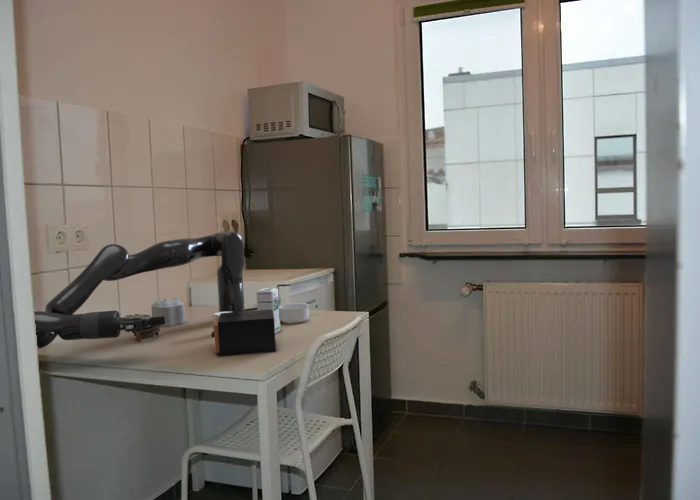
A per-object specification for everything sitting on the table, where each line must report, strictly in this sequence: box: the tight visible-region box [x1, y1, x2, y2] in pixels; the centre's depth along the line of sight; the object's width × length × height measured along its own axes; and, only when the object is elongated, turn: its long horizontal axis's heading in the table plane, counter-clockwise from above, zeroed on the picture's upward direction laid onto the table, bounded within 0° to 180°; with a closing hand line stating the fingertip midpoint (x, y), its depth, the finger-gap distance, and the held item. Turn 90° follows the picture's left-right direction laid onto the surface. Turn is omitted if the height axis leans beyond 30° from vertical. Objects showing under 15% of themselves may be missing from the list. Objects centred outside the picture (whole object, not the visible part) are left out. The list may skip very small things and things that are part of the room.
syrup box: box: [255, 287, 282, 335], centre depth 186 cm, size 6×6×14 cm
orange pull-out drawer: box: [211, 317, 220, 354], centre depth 166 cm, size 16×13×8 cm
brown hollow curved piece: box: [130, 325, 161, 343], centre depth 183 cm, size 12×10×8 cm
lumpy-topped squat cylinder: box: [150, 298, 186, 328], centre depth 208 cm, size 10×13×9 cm
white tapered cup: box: [212, 311, 230, 325], centre depth 186 cm, size 7×7×7 cm
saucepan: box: [279, 299, 317, 325], centre depth 206 cm, size 12×20×6 cm, turn 150°
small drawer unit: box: [218, 309, 277, 357], centre depth 166 cm, size 16×14×10 cm
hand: (164, 320), depth 158 cm, fingers closed
